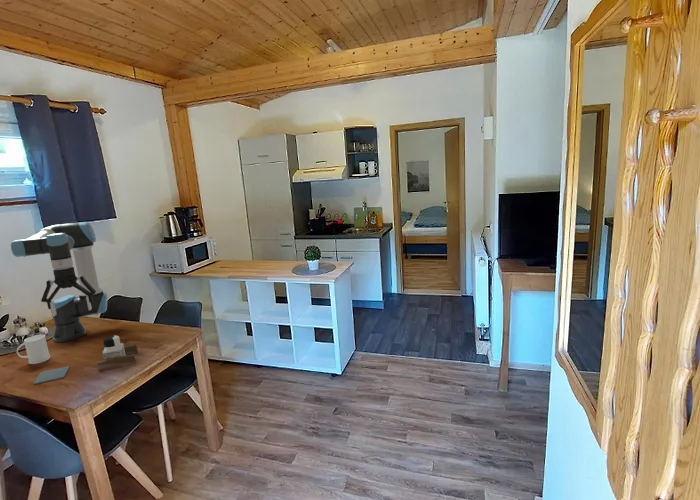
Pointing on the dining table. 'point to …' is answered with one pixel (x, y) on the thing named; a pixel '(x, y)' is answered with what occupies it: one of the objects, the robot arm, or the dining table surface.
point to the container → (113, 348)
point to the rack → (119, 359)
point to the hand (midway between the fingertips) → (72, 312)
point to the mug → (35, 349)
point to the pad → (51, 375)
